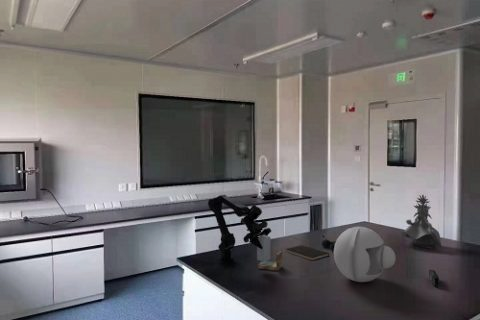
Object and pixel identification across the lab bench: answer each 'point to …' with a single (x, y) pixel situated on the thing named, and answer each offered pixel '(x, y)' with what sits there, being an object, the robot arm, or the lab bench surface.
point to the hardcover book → (307, 252)
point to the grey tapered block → (264, 248)
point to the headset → (328, 244)
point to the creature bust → (422, 227)
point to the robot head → (362, 254)
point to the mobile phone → (434, 278)
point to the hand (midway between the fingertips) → (265, 247)
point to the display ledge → (272, 263)
